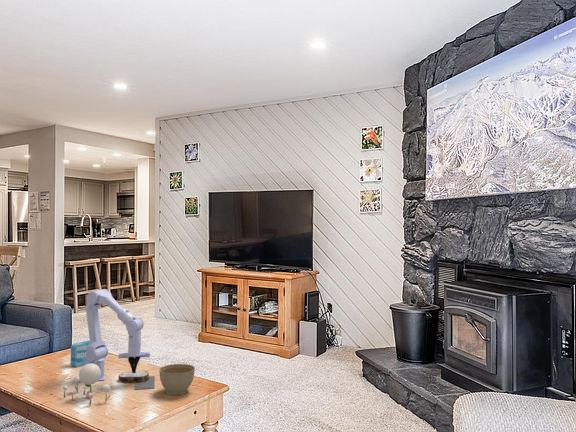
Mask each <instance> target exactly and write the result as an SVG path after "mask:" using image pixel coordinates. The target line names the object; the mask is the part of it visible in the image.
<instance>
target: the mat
mask: <svg viewBox="0 0 576 432" xmlns="http://www.w3.org/2000/svg"><path fill="white" fill-rule="evenodd" d="M155 377H156V376H155V375H152V376H151V375H149V379H148V380H147V381H144V382H134V383H135V384H134V391H139V390H140V391H141V390H150V389H152V390H154V389H155Z"/></svg>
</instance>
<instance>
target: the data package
mask: <svg viewBox="0 0 576 432" xmlns="http://www.w3.org/2000/svg"><path fill="white" fill-rule="evenodd" d="M89 343H90V340H86V341H85V340H84V341H81V342H79V341H78V342H75V343H73V344H71V346H70V365H71V366H72V367H75V368H80V367H83V366H84V364H85V362H86V361H88V360H87V359H86V352H87V349H86V347H87V346H88V344H89Z"/></svg>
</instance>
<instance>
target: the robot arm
mask: <svg viewBox="0 0 576 432" xmlns="http://www.w3.org/2000/svg"><path fill="white" fill-rule="evenodd" d="M85 299H86V303H85V304H86V305H85V313H86V314H85V315H86V319H87V320H86V321H87V329H88V336H89V341H90V343H89V344H88V346H87V347H86V349H87V352H86V359H87V360H88V361H86V362H85V364H84V366H85V365H86V364H90V363H92V364H96V365H97V366H98V367H99V368H100V370H101V375H100V378H99V380H98V381H97V382H99V381H105V379H106V376H107V375H106V374H105V360H106V357H108V355H109V349H108V347H107V345H106V342H105V341H104V340H102V333H101V332H102V331H101V324H100V316H99V309H100V307H101V306H102V305H106V306H107V307H109V308H110V309H111V310H112V311H114V312H115V313H116V315H117V316H116V317H117V318H118V320H120V322H121V323H122V324H124V325H125V328H126V331H127V335H128V343H127V344H128V347H127V350H128V351H127V352H122V353H118V355H117V356H118V357H117V358H118V359H127V361H128V363H129V365H130V368H131V372H132V373H136V372H137V366H138V364H139V362H140V359H141V358H150V357H151V352H148V351H147V352H144V351H141V347H142V346H141V345H142V342H141V341H142V339H141V338H142V329H143V328H144V321H143V320H142V318H139V317H137V316H135V315H134V314H133V313H132V312H131V311H130V309H129V308H123V307H122V306H121V305H120V304H119V303H118V301H117V300H115V298H114V297H113V295H112V292H110V291H109V290H108V289H106V288H101V289H98V290H92V291H91V290H90V291H89V292H88V294H86V296H85Z"/></svg>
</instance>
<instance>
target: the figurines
mask: <svg viewBox="0 0 576 432" xmlns="http://www.w3.org/2000/svg"><path fill="white" fill-rule="evenodd" d="M100 375H101V370H100V368H99V367H98V366H97V365H96V364H92V363H90V364H86V365H85V366H81V369H80V370H79V373H78V375H77V376H75V377H74V378H73V383H74V389H75V391H76V393H79V388H78V384H81V383H82V384H84V386H85V387H82V389H84V390H83V395H85V397H86V398H87V399H89V405H88V406H89V407H91V406H92V403H93V401H92V398H93V396H94V392H93V391H92V385H94V384H95V383H97V382H99V381H98V380H99V378H100ZM88 388H89V390H88V391H86V389H88ZM101 389H102V392H103V393H105V398H104V399H105V400H104V403H107V402H108V399H109V398H110V397H111V394H109V396H107V395H108V394H107V393H108V392H110V391H111V385H109V384H107V383H106V384H104V385H103V386H102V387H101ZM62 390H63V391H64V392H63V397H64V398H66V397H67V396H66V395H67V394H66V390H68V386H67V385H63V387H62ZM72 401H74V392H71V402H72Z"/></svg>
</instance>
